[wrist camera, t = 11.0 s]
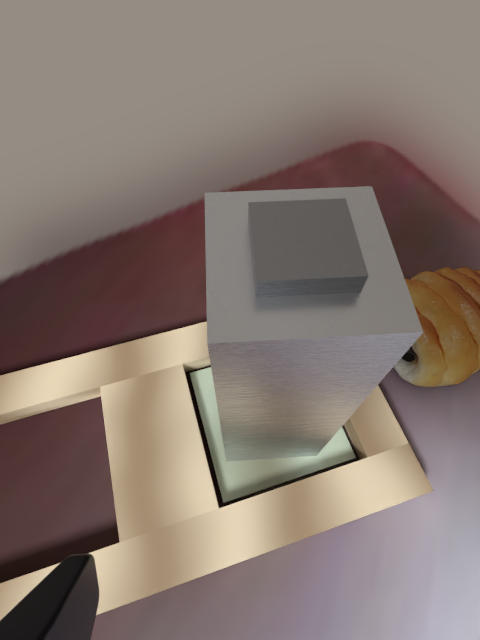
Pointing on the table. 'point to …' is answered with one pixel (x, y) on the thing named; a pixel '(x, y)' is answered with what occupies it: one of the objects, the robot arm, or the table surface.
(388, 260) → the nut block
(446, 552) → the table surface
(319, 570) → the table surface
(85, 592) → the robot arm
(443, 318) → the pastry
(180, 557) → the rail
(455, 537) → the table surface
